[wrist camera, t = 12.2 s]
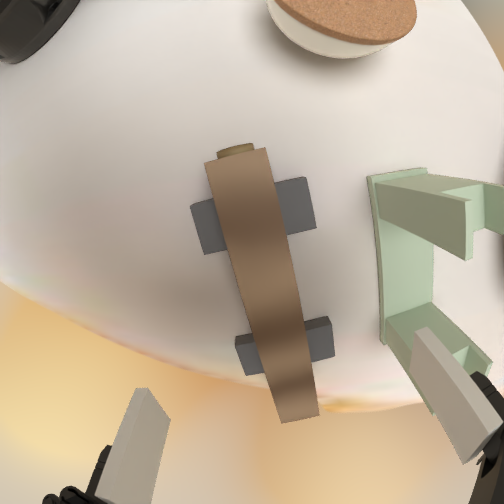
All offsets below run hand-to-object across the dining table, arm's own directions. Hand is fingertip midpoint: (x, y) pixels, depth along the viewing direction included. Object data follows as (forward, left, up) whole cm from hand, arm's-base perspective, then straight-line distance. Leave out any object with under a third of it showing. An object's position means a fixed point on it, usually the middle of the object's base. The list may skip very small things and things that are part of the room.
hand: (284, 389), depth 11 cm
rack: (+1, +13, -13) cm, 18 cm away
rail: (0, 0, -11) cm, 11 cm away
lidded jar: (-22, +10, -13) cm, 27 cm away
